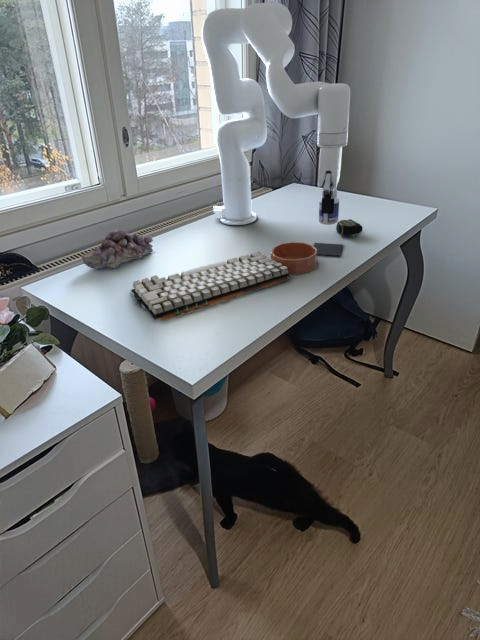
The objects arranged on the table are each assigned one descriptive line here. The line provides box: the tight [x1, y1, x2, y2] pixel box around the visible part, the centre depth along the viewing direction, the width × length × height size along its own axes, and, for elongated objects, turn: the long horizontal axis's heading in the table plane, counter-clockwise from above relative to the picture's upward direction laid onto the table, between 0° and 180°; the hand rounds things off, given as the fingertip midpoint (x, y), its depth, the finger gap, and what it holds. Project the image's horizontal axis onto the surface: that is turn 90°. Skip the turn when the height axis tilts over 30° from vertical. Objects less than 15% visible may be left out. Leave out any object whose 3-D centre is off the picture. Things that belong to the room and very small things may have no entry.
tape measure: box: [335, 218, 364, 237], centre depth 137 cm, size 7×7×4 cm
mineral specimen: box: [81, 228, 154, 270], centre depth 128 cm, size 20×10×10 cm
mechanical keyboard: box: [130, 250, 292, 322], centre depth 113 cm, size 38×19×3 cm, turn 120°
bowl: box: [270, 241, 318, 275], centre depth 121 cm, size 12×12×4 cm
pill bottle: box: [318, 188, 340, 226], centre depth 122 cm, size 5×5×9 cm
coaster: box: [313, 242, 343, 257], centre depth 129 cm, size 8×8×1 cm
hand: (328, 208), depth 122 cm, fingers closed on pill bottle, 5 cm apart
